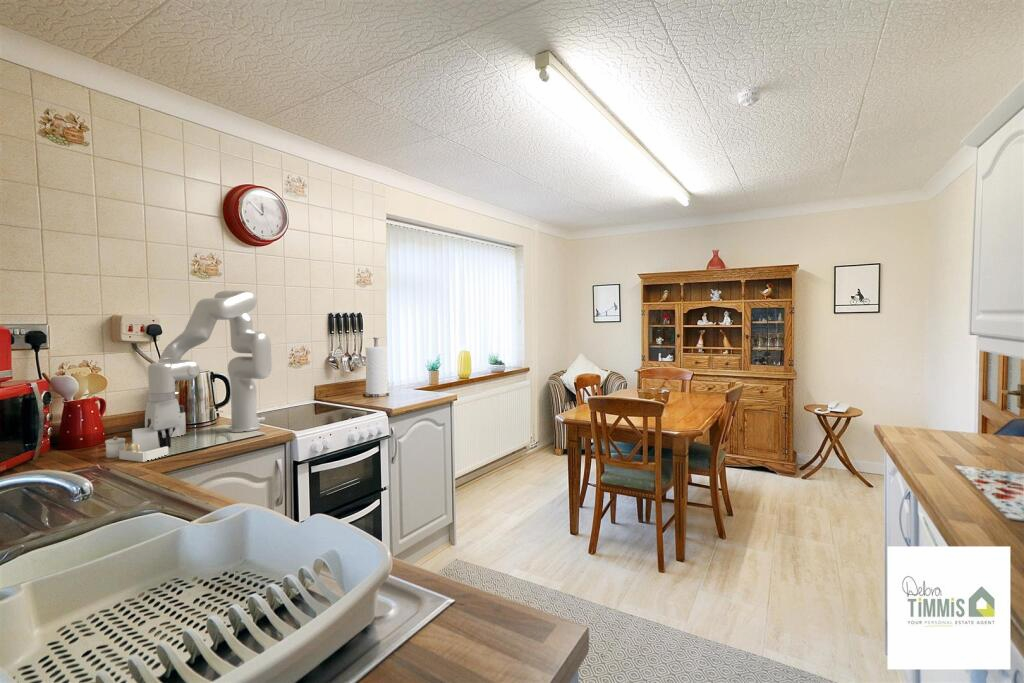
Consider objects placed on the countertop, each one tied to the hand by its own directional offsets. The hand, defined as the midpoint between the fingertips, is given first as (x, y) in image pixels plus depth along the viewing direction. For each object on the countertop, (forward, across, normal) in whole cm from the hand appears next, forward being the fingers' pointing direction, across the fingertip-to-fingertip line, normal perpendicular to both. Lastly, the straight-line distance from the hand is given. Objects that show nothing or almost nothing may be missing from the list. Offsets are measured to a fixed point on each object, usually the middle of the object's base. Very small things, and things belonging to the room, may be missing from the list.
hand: (165, 447), depth 168 cm
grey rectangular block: (+1, +7, 0) cm, 7 cm away
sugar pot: (+1, +9, -11) cm, 14 cm away
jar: (+2, -18, -20) cm, 27 cm away
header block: (+1, +7, 0) cm, 7 cm away
